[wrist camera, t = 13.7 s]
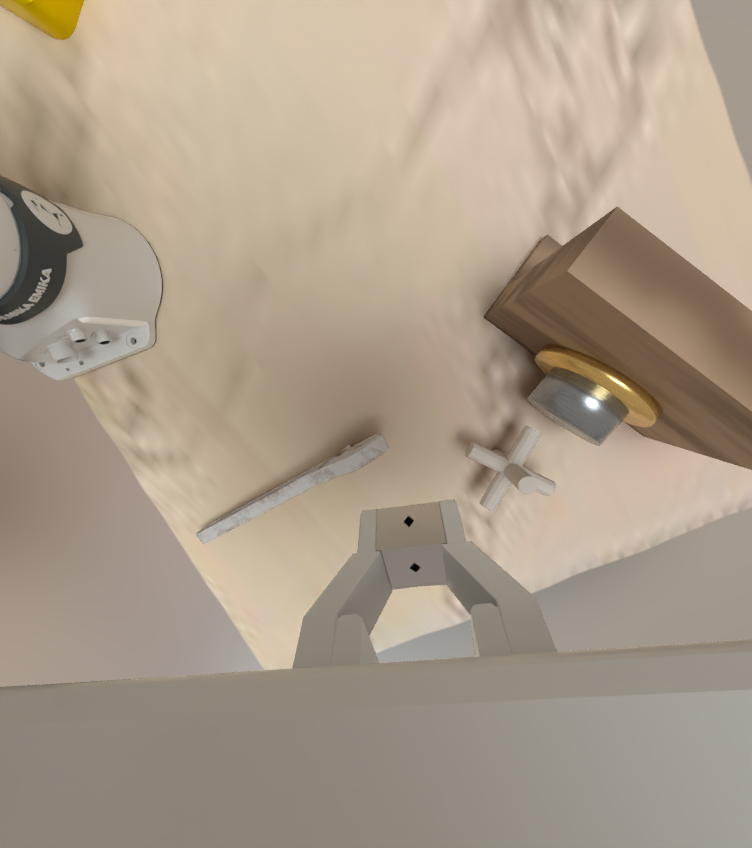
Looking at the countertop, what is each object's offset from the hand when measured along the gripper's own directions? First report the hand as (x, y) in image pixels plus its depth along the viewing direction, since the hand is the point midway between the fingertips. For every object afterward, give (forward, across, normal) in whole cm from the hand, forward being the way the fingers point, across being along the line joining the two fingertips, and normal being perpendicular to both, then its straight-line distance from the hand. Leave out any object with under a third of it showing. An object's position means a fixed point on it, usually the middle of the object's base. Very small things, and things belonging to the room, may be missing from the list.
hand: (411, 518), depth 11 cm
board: (+31, -22, +8) cm, 38 cm away
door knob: (+28, -17, +13) cm, 35 cm away
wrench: (+26, +17, +19) cm, 37 cm away
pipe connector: (+26, -10, +19) cm, 34 cm away
